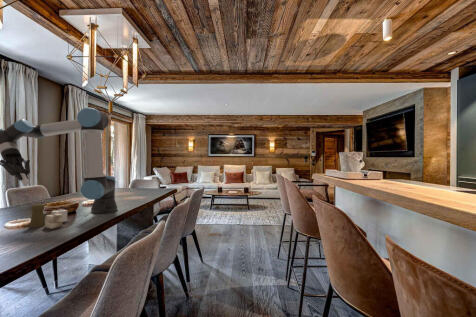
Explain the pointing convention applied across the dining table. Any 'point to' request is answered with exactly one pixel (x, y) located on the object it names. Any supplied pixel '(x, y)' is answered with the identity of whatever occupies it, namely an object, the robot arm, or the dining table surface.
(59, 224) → the birch block numbered 1
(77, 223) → the dining table surface
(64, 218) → the cream block numbered 7
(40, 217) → the olive green tall block
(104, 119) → the robot arm
